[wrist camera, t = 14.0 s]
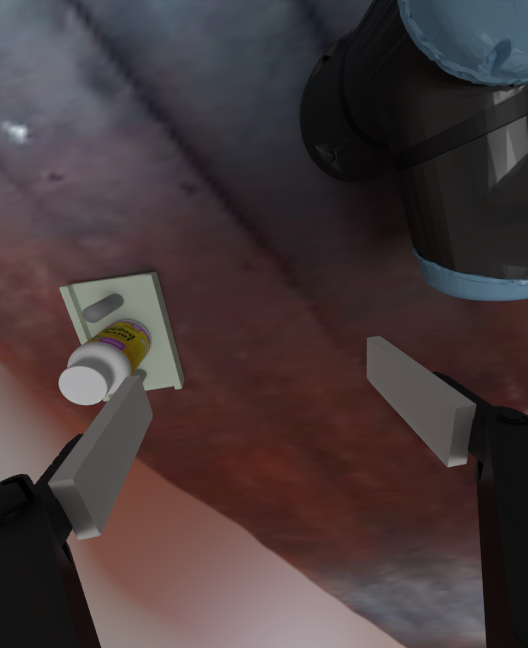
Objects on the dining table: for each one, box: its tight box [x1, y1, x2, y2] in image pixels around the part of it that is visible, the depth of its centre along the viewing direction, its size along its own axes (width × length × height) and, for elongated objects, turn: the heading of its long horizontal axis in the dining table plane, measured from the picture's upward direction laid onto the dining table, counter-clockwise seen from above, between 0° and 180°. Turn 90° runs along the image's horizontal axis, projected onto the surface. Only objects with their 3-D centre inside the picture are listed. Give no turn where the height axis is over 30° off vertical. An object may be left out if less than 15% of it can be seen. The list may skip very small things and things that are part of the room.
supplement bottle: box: [59, 320, 151, 405], centre depth 34 cm, size 7×7×13 cm
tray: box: [59, 272, 185, 401], centre depth 37 cm, size 18×12×8 cm, turn 7°
